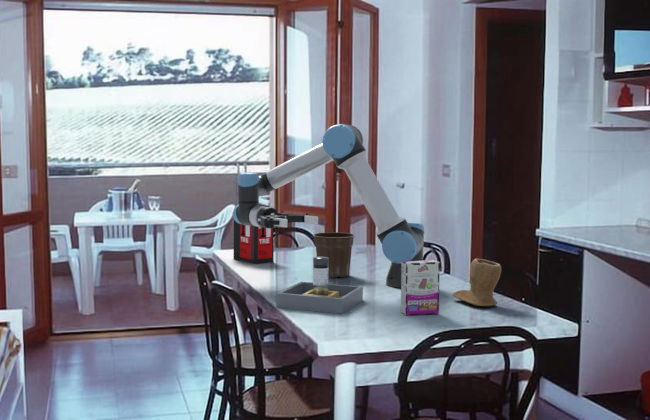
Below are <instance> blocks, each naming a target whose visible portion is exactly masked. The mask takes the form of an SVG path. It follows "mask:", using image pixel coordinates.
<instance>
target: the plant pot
mask: <svg viewBox="0 0 650 420" xmlns="http://www.w3.org/2000/svg"><path fill="white" fill-rule="evenodd" d="M312 237H313V239H314V246H315V251H316V253H315V254H316V257H328V258H329V270H328V279H337V278H338V277H339V278H347V277H348V276H349V277H350V269H351V259H352V250H353V245H354V237H356V235H355V234H354V233H351V232H339V231H338V232H337V231H336V232H335V231H334V232H331V231H329V232H316V233H313V234H312Z"/></svg>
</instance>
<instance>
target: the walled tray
mask: <svg viewBox="0 0 650 420" xmlns="http://www.w3.org/2000/svg"><path fill="white" fill-rule="evenodd" d="M363 289H364V287H363V286H357V285H347V284H333V283H328V296H323V295H313V282H311V281H310V282H307V281H299V282H297V283H296V284H294V285H290V286H289V287H287V288H285V289H282V290H280V291H278V292H276V294H275V295H276V296H275V297H276V299H275V307H276V308H279V309H280V308H281V309H291V310H302V311H311V312H321V313H323V312H324V313H333V314H343V313H345V312H347V311H348V310H350V309H351V308H353V307H354V306H356V305H358V304H359V303H360V302H362V301H363V298H364V297H363V295H364V290H363Z"/></svg>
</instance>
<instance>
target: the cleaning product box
mask: <svg viewBox="0 0 650 420" xmlns="http://www.w3.org/2000/svg"><path fill="white" fill-rule="evenodd" d="M274 228H275V227H273V228H263V227H261V228H260V229H259V228H258V227H256V226H248V225H242V224H239V223H237V222H236V221H235V220H234V219H233V260H236V261H241V262H246V263H251V264H254V265H262V264H269V263H270V264H271V263H274V252H275V251H274V246H275V245H274V243H275V240H274V238H275V237H274V234H275V233H274V231H275V229H274ZM261 263H262V264H261Z"/></svg>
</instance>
